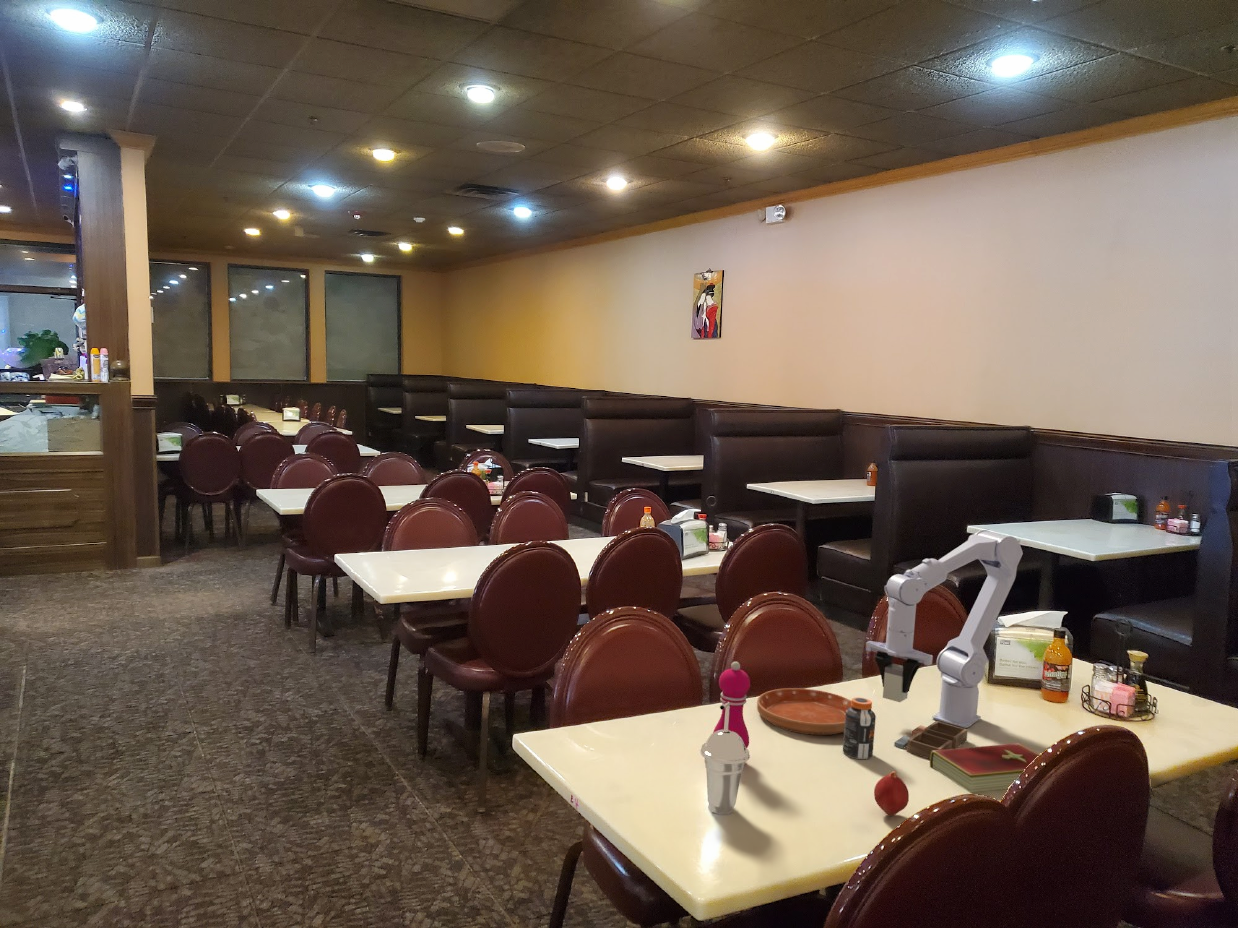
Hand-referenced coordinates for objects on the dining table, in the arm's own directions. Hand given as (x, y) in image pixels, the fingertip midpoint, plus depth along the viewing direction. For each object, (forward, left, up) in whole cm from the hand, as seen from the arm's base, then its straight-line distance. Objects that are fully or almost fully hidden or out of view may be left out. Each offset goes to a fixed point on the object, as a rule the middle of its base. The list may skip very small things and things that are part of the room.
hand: (895, 688), depth 200 cm
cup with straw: (+63, -4, -8) cm, 64 cm away
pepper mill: (+45, -14, -8) cm, 48 cm away
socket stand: (+5, +10, -8) cm, 14 cm away
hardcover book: (+11, +25, -9) cm, 29 cm away
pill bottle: (+22, +2, -8) cm, 24 cm away
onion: (+43, +18, -8) cm, 47 cm away
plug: (0, 0, -2) cm, 2 cm away
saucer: (+12, -15, -9) cm, 21 cm away
